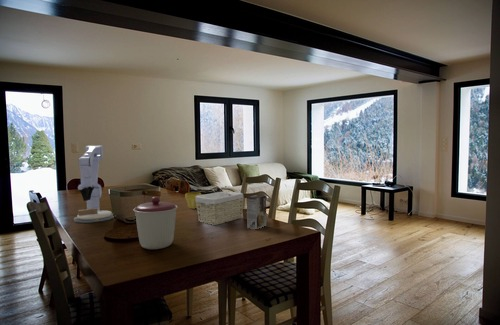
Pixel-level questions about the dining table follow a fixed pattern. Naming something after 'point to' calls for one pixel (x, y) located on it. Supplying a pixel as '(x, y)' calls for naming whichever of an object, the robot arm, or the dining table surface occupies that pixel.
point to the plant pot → (191, 200)
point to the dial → (93, 214)
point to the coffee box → (256, 211)
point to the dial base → (93, 220)
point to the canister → (155, 223)
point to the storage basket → (219, 207)
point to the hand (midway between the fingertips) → (86, 200)
